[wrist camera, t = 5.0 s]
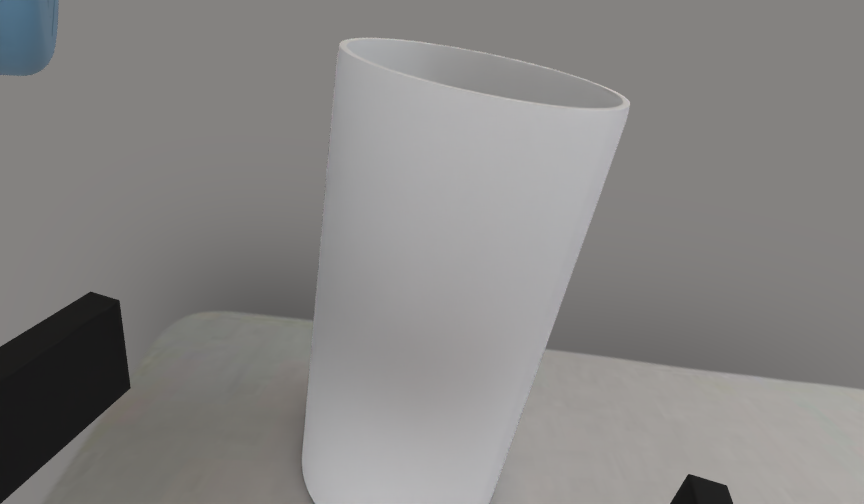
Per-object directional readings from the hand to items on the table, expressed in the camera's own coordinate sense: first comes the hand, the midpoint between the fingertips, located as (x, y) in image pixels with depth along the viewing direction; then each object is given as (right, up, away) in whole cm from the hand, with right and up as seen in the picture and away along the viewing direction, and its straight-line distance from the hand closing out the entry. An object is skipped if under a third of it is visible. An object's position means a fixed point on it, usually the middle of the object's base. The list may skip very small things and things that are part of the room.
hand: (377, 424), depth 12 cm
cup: (0, -5, +10) cm, 11 cm away
